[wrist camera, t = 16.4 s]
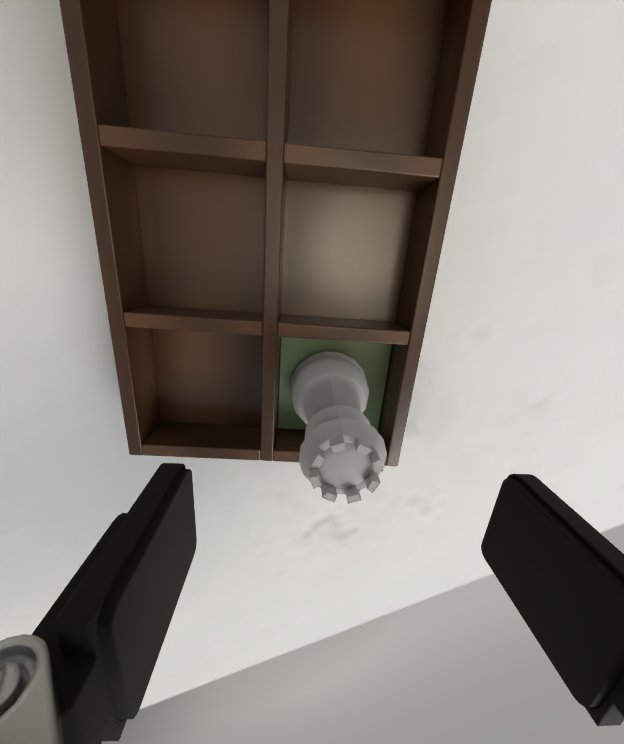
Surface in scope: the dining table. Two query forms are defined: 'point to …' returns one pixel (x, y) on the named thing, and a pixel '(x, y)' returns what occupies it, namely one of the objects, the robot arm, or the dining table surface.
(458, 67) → the tray
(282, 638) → the dining table surface
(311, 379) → the rook chess piece
